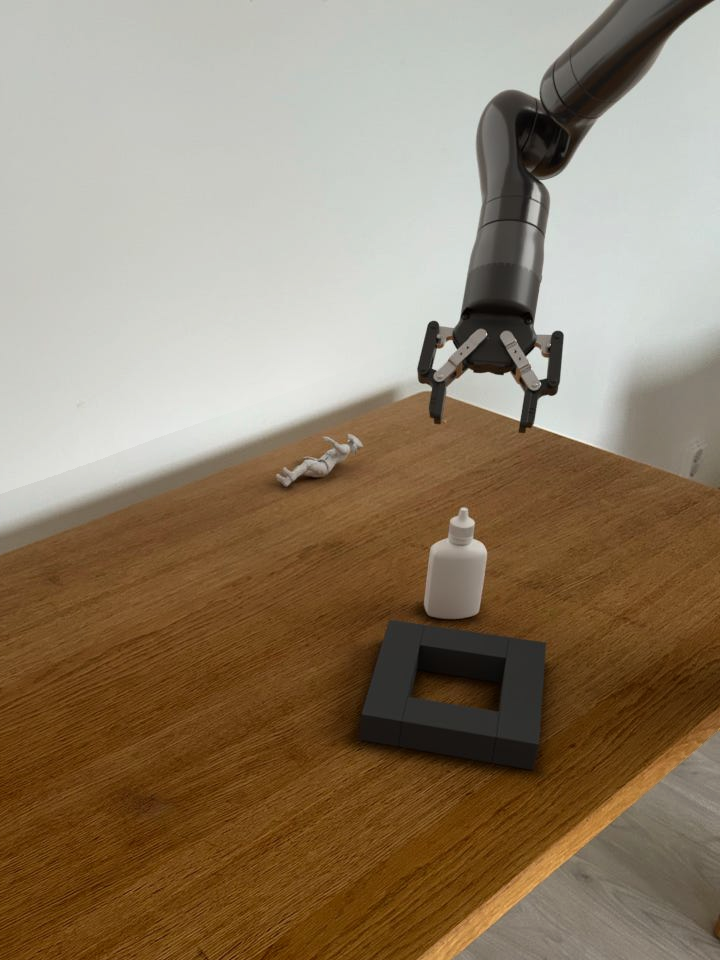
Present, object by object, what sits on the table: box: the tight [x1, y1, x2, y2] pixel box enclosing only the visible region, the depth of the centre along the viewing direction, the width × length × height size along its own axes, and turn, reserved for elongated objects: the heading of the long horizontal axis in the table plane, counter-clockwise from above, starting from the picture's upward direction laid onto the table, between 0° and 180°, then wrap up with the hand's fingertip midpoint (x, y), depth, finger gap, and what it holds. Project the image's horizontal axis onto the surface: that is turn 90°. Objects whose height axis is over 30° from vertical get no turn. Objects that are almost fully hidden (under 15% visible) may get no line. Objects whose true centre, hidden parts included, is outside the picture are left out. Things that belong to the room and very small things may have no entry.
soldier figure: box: [275, 433, 364, 488], centre depth 131 cm, size 8×5×12 cm
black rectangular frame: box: [359, 619, 547, 771], centre depth 93 cm, size 15×15×3 cm
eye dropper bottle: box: [423, 506, 488, 620], centre depth 102 cm, size 4×6×12 cm
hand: (479, 426), depth 103 cm, fingers open, 8 cm apart
